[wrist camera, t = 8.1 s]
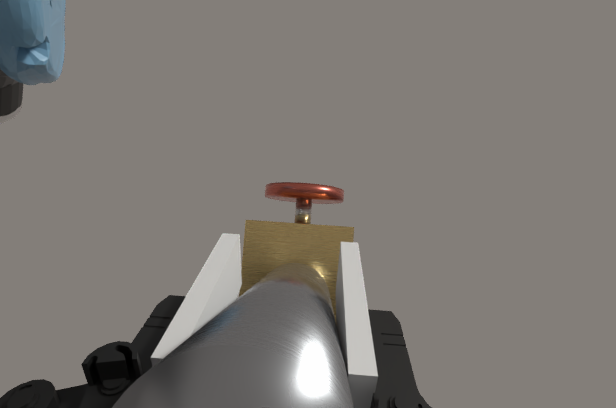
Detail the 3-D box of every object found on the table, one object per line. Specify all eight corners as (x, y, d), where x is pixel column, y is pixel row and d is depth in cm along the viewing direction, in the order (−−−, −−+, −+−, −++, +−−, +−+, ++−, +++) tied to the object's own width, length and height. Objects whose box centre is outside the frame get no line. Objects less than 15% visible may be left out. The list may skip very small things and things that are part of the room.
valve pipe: (447, 681, 5) (465, 45, 6) (-15, 629, 5) (71, 25, 6) (339, 310, 29) (345, 197, 30) (258, 304, 29) (267, 192, 30)
